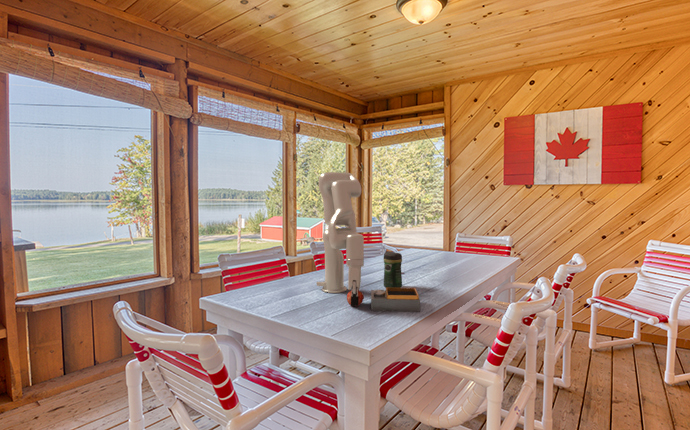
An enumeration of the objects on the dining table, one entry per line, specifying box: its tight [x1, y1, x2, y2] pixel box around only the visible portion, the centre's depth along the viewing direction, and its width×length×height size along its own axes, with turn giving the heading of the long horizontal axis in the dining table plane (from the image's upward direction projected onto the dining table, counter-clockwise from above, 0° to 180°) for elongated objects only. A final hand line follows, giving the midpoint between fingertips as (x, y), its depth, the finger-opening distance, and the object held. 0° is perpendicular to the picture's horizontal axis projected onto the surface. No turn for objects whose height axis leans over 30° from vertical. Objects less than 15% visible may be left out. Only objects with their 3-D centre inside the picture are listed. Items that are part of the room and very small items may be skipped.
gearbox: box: [370, 287, 421, 313], centre depth 150 cm, size 20×14×6 cm
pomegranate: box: [346, 289, 365, 307], centre depth 151 cm, size 7×7×10 cm
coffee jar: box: [383, 251, 403, 288], centre depth 182 cm, size 10×8×19 cm
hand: (355, 302), depth 151 cm, fingers closed on pomegranate, 7 cm apart
